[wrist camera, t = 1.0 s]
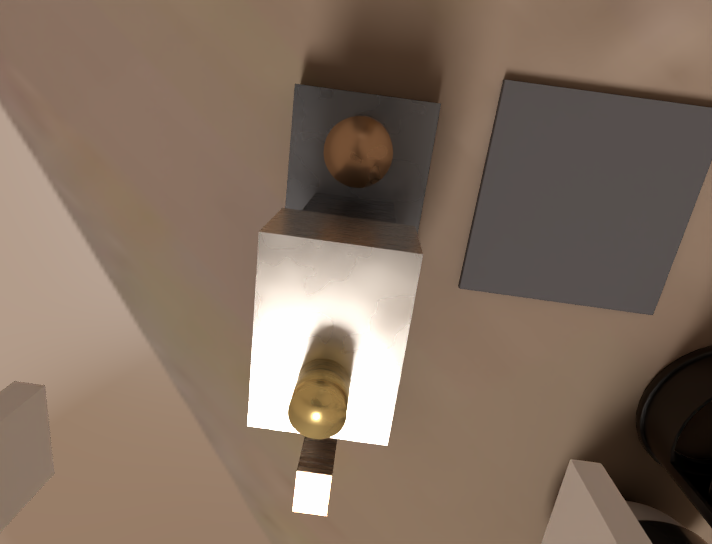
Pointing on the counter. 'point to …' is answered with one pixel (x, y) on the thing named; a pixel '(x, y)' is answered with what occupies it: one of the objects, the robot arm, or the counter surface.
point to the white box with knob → (331, 324)
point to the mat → (585, 196)
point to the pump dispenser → (662, 526)
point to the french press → (679, 423)
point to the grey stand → (354, 196)
